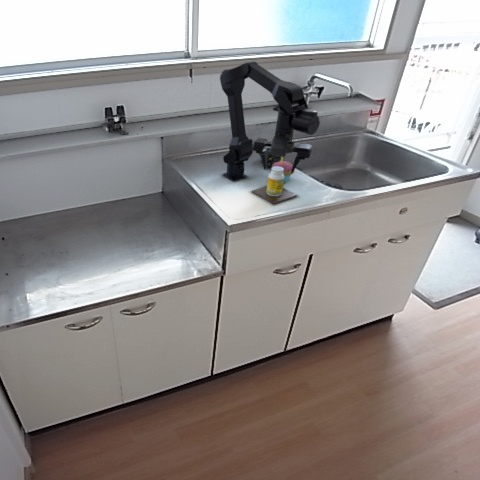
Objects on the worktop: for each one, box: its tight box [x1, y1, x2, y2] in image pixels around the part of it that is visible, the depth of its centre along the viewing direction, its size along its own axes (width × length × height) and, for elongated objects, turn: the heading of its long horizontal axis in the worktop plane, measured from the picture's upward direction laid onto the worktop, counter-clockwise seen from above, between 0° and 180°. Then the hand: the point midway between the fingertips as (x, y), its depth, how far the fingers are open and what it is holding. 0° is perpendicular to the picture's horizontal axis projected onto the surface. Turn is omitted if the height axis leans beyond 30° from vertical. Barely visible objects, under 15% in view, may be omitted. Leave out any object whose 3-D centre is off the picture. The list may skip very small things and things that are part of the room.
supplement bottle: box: [266, 166, 285, 196], centre depth 137 cm, size 5×5×10 cm
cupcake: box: [270, 157, 296, 183], centre depth 147 cm, size 9×8×12 cm
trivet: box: [251, 185, 298, 205], centre depth 140 cm, size 11×11×1 cm
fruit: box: [260, 149, 285, 168], centre depth 162 cm, size 9×8×15 cm
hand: (278, 171), depth 135 cm, fingers open, 9 cm apart
